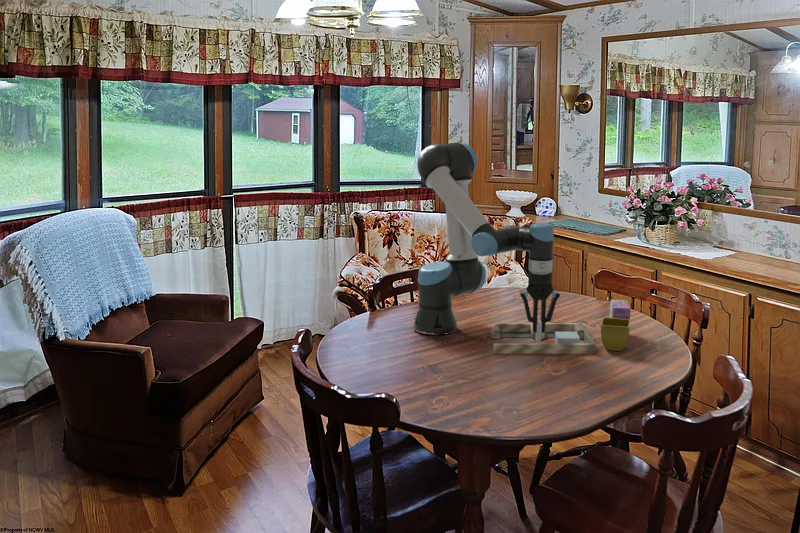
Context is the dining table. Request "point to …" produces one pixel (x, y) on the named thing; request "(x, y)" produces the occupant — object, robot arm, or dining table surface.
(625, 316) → the box
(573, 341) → the block
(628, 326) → the flower pot
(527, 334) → the box
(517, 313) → the dining table surface
